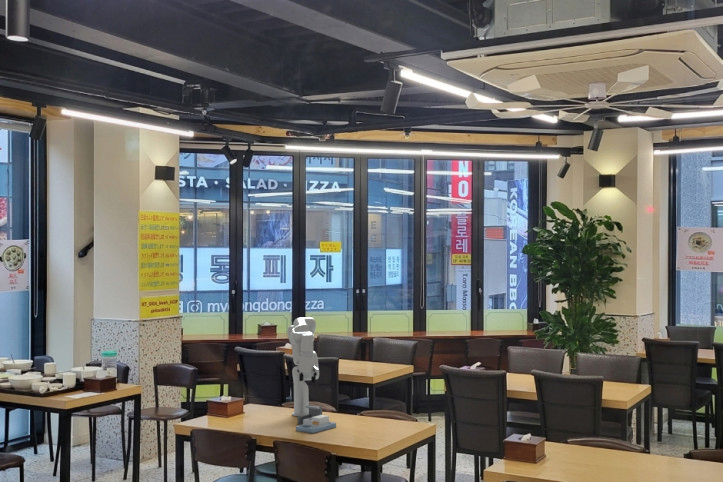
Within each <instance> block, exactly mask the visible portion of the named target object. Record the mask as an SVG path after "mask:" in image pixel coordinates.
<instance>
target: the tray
mask: <svg viewBox="0 0 723 482" xmlns="http://www.w3.org/2000/svg"><path fill="white" fill-rule="evenodd" d="M334 428H337V423H336V422H334V421H333V422H332V421H329V424H328V425H324V426H320V427H317V428H312V426H310V425H303V424H300V425H296V426H295V432H299V433H300V432H301V433H306V434H315V433H320V432H324V431H327V430H331V429H334Z"/></svg>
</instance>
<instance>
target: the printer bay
mask: <svg viewBox="0 0 723 482" xmlns="http://www.w3.org/2000/svg"><path fill="white" fill-rule="evenodd" d="M306 408H309V414H308V415H304V416H297V426H300V425H303V420H304V419H308V418H312V417H315V416H318V415H323V406H321V405H312V404H310V405H308V406H306ZM309 420H312V419H309Z"/></svg>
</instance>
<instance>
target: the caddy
mask: <svg viewBox="0 0 723 482" xmlns="http://www.w3.org/2000/svg"><path fill="white" fill-rule="evenodd" d="M309 419H312V420H309ZM329 422H330V415H326V414H325V415H324V414H322V415H318V416H315V417H312V418H308V419H304V420H303V424H302V425H310V426H312V428H317V427H320V426H324V425H328V424H329Z"/></svg>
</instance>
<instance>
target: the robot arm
mask: <svg viewBox="0 0 723 482" xmlns="http://www.w3.org/2000/svg"><path fill="white" fill-rule="evenodd" d="M316 328H317V323H316V320H315V318H314V317H307V316H306V317H297V318H295V319H294V321H293V324H292V325H289V326H288V327H287V330H286V331H287V338H288V341H289V343H290V345H291V346H290V347H291V351H292V360H293V363H294V364H293V365H296V366H294V367H293V368H292V370H291V372H292V373H291V374H292V380H293V404H294V405H293V412H291V415H292V416H294V417H300V416H304V415H308V414H309V408H306V406H308V405H309V404H310V403H309V399H310V398H309V392H310V391H309V385H308V384H307V383H306V382H305V381H311V383H312V384H313V383H316V381H317V380H318V379H319V377H320V368H319V360H318V359H319V358H318V354H317V352H316V351H315V350H314V341H315V331H316Z"/></svg>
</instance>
